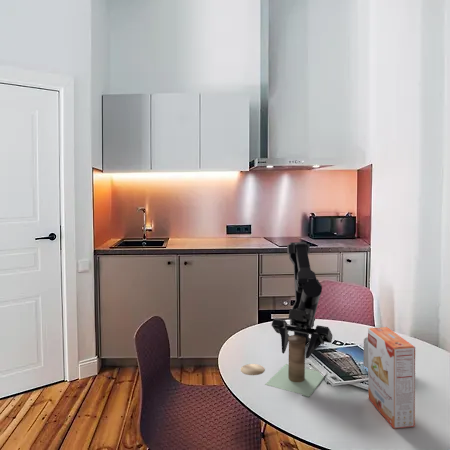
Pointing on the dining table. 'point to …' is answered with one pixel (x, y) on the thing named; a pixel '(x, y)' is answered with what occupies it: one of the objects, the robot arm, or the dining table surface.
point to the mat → (302, 387)
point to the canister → (296, 358)
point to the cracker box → (391, 376)
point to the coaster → (252, 369)
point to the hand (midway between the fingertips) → (294, 355)
